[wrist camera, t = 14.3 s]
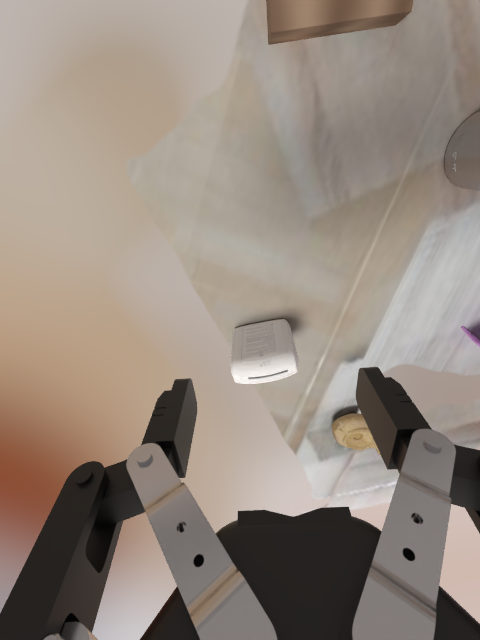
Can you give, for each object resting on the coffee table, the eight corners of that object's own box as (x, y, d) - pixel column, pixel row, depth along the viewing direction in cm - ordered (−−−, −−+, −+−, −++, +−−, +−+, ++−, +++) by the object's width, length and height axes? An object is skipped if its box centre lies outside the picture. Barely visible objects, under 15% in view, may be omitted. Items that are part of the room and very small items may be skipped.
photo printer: (235, 346, 53) (233, 394, 42) (229, 326, 51) (226, 372, 40) (291, 335, 52) (304, 382, 41) (288, 315, 50) (300, 358, 39)
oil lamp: (388, 440, 65) (398, 460, 60) (324, 439, 65) (329, 460, 60) (400, 405, 60) (413, 424, 55) (330, 405, 60) (337, 424, 55)
